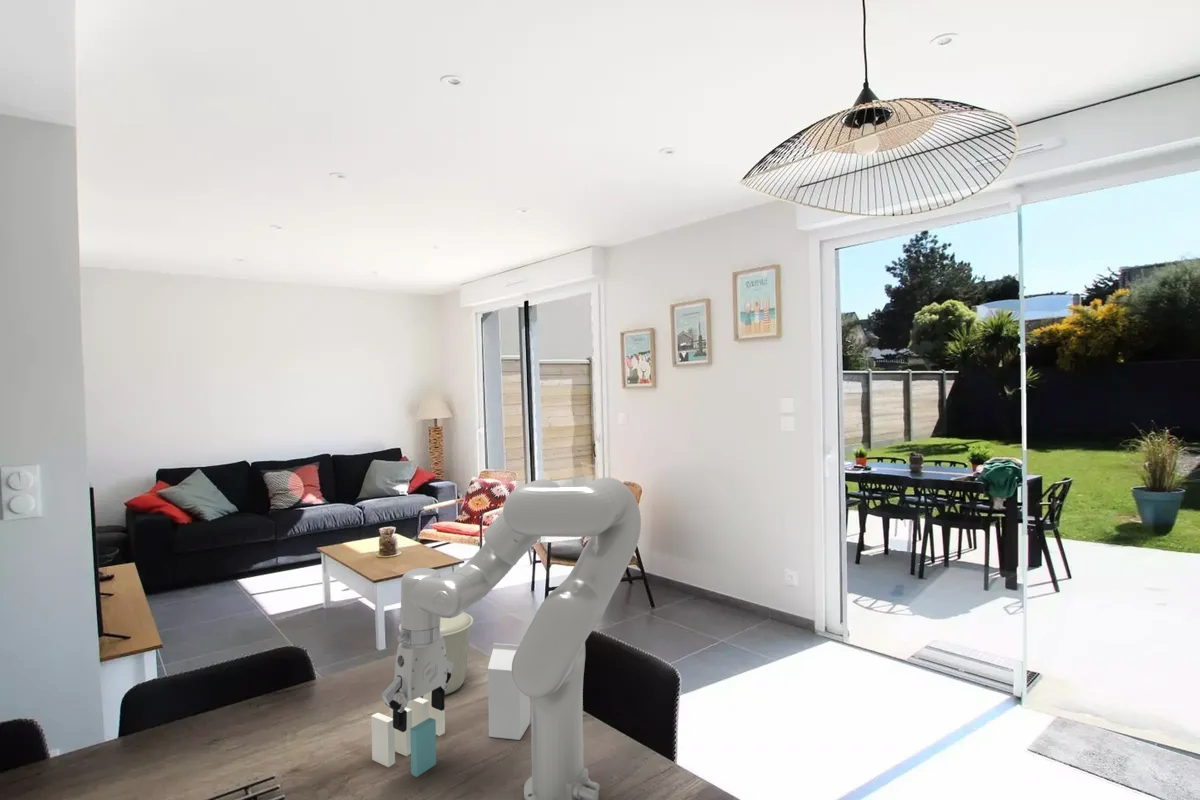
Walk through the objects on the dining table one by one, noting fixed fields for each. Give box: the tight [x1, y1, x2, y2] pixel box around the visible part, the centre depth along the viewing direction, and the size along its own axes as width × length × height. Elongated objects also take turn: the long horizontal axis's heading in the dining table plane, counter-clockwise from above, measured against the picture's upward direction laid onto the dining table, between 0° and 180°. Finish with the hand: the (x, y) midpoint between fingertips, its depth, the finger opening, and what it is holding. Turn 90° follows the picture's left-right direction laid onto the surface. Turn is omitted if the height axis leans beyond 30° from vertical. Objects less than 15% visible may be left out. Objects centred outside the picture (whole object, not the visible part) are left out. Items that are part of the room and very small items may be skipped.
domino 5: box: [422, 691, 446, 737], centre depth 142 cm, size 5×2×9 cm, turn 57°
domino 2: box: [389, 706, 412, 757], centre depth 134 cm, size 5×2×9 cm, turn 57°
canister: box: [398, 611, 474, 696], centre depth 163 cm, size 18×18×21 cm
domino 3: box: [406, 697, 429, 728], centre depth 138 cm, size 5×2×9 cm, turn 57°
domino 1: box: [370, 712, 396, 768], centre depth 131 cm, size 5×2×9 cm, turn 57°
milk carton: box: [487, 642, 531, 741], centre depth 142 cm, size 7×7×19 cm
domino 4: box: [410, 718, 437, 778], centre depth 128 cm, size 5×2×9 cm, turn 147°
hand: (419, 718), depth 128 cm, fingers open, 9 cm apart
